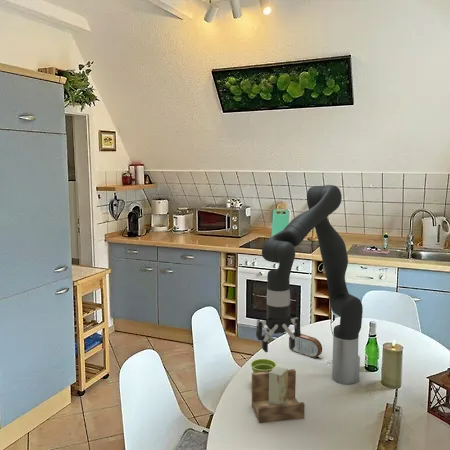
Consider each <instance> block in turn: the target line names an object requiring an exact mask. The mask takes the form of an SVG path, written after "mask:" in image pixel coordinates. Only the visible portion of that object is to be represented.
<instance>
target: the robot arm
mask: <svg viewBox="0 0 450 450" xmlns="http://www.w3.org/2000/svg"><path fill="white" fill-rule="evenodd" d="M306 203H307V207H308V209H307V210H305V211H304V212H301V213H300V214H299V215H297V216H295V217H294V218H293V219H291V221H290V222H289V223H287V225H286V226H285V227H284V228H283V230H281V231H278V232H277V233H275V234H274V235H272V236H271V237H269V238H268V239H267V240H265V242H264V243H263V244H262V247H261V256H262V258H263V259H264V260H265V261H268V262H271V263H276V264H278V267H277V268H274V269H270V270H269V271H268V273H267V276H266V277H267V278H266V279H267V280H266V281H267V286H266V287H267V288H266V289H267V290H266V320H260V319H258V320H257V321H256V332H255V337H256V338H257V341H261V349H262V351H264V352H265V353H268V352H269V348H268V347H269V346H268V345H269V344H268V343H269V342H268V340H269V338H271V337H272V336H273V334H275V335H276V334H284V333H285V332H286V333H287V335H288V348H289V349H290V350H291V351H294V350H293V348H294V347H295V338H296V337H300V336H301V334H302V333H301V332H302V331H301V319H299V317H297V316H294V317H293V318H291V301H292V300H291V292H290V291H291V290H290V277H291V272H292V269H293V264H294V262H295V258H296V249H295V248H296V247H298V246H299V245H300V244H301V243H302V242H303V241H304V240H305V238H306V237H307V236H308V234H309V233H310V232H311V231H313V230H314V229H315V232H316V237H317V241H318V246H319V252H320V256H321V257H320V258H321V260H322V261H321V262H322V264H323V268H324V269H323V270H324V272H325V277H326V282H327V287H328V288H327V289H328V297H329V298H328V299H329V305H330V309H331V311H332V313H334V315H336V316H338V317H340V319H339V324H338V325H336V326H335V325H334V327H333V335H332V336H333V337H332V342H333V343H332V368H331V369H332V371H331V378H332V379H333V381H335V382H337V383H338V384H342V385H351V384H354V383H356V382H359V381H360V372H361V371H360V370H361V369H360V368H361V366H360V365H361V357H360V355H359V339H360V338H359V337H360V336H359V334H360V331H361V329H362V324H363V323H362V322H363V312H364V311H363V310H364V307H363V303H362V301H361V299H359V298H358V297H357V296H354V295H353V294H351V293H349V291H348V287H347V283H346V272H347V269H348V264H349V257H348V256H349V255H348V251H347V246H346V243H345V241H344V239H343V238H342V236H341V235H340V234H339V232H338V231H337V230H336V229H335V228H334V227H333V225H332V224H331V223H330V221H329V216H330V215H331V214H332V213H334V212H335V211H336V210H338V209H339V207H340V205H341V204H342V191H341V190H340V188H339V187H338V186H336V185H332V184H326V185H325V184H324V185H315V186H312V187H311V186H310V188H309V189H308V190H307V192H306ZM291 325H293V326H294V329H293V330H294V332H292V331H291V329H290V328H289V327H290V326H291ZM265 326H266V329H265V330H264V332H263V329H264V327H265Z"/></svg>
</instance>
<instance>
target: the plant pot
mask: <svg viewBox="0 0 450 450" xmlns="http://www.w3.org/2000/svg"><path fill="white" fill-rule="evenodd" d="M276 366H277V363H276V362H275V361H274V360H272V359H268V358H258V359H254V360H252V361H251V363H250V367H251V369H252V373H257V372H268V371H271V370H272V369H274V368H275V367H276Z"/></svg>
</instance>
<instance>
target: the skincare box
mask: <svg viewBox="0 0 450 450" xmlns="http://www.w3.org/2000/svg"><path fill="white" fill-rule="evenodd" d="M288 370H289V369H288V368H286V367H283V366H279V365H276V367H275V368H274V369H272V370H271V371H270V372H269V406H270V405H280V404H287V394H288Z"/></svg>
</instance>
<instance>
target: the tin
mask: <svg viewBox="0 0 450 450" xmlns="http://www.w3.org/2000/svg"><path fill="white" fill-rule="evenodd" d="M292 351H294V352H295V353H298V354H300V355H303V356H306V357H309V358H313V359H314V358H315V359H316V358H318V357H319V356H320V355H321V354H322V353H323V346H322V343H321V342H320V341H319V339H317V338H315V337H314V336H311V335H307V334H303V333H301V336H300V337H296V338H295V347H294V348H293V350H292Z"/></svg>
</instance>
